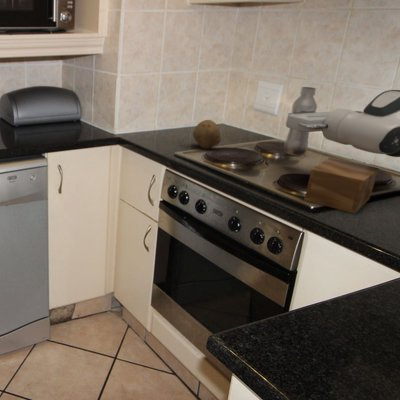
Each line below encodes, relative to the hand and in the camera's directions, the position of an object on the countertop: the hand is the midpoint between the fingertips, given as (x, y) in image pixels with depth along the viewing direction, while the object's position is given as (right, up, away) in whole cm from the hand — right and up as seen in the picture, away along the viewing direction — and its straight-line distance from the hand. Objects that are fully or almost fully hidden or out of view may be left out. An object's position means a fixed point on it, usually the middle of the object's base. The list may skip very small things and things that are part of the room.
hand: (300, 114), depth 141 cm
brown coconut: (-20, -7, +26) cm, 33 cm away
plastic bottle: (0, -12, +4) cm, 12 cm away
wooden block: (0, -25, -17) cm, 30 cm away
